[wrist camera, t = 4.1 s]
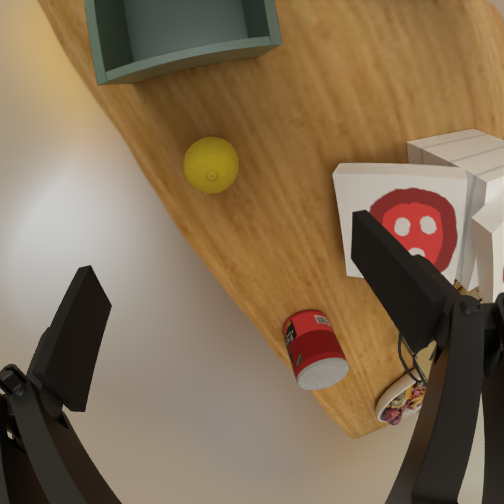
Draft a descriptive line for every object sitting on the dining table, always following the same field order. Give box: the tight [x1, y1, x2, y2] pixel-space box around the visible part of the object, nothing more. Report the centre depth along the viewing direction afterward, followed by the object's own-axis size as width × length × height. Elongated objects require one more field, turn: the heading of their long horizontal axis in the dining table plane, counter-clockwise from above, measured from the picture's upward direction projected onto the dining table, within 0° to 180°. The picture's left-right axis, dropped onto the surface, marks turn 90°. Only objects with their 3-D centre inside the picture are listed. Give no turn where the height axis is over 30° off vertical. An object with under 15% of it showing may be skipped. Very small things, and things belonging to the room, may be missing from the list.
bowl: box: [376, 369, 426, 425], centre depth 70 cm, size 30×30×8 cm
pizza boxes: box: [332, 129, 504, 303], centre depth 30 cm, size 19×30×18 cm, turn 106°
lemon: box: [183, 136, 239, 194], centre depth 28 cm, size 6×6×8 cm
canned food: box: [283, 310, 349, 390], centre depth 44 cm, size 8×8×11 cm
